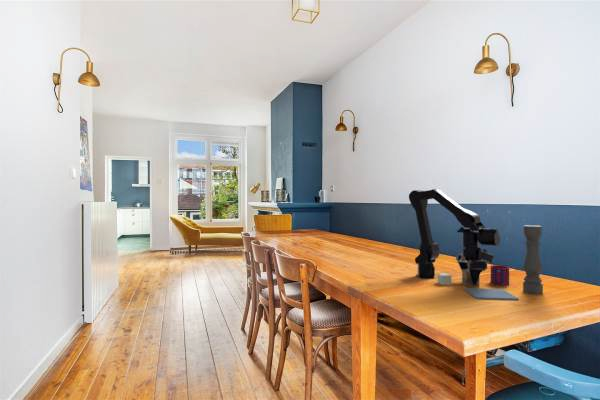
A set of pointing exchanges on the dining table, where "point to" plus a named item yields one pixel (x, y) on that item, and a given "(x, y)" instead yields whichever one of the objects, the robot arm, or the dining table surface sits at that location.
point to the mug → (500, 275)
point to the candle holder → (532, 260)
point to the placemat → (490, 294)
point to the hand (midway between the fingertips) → (470, 281)
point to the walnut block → (468, 279)
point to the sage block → (444, 279)
